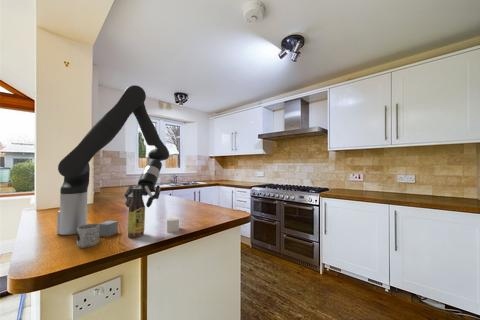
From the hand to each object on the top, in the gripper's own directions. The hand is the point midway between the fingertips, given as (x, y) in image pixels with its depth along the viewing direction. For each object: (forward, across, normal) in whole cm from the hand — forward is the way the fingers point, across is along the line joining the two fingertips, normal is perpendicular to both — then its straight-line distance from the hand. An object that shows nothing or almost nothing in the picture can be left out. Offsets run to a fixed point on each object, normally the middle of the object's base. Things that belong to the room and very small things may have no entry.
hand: (137, 206), depth 83 cm
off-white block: (+4, +13, +13) cm, 19 cm away
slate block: (+8, -13, +10) cm, 18 cm away
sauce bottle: (+9, 0, +8) cm, 12 cm away
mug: (+16, -13, +1) cm, 21 cm away
